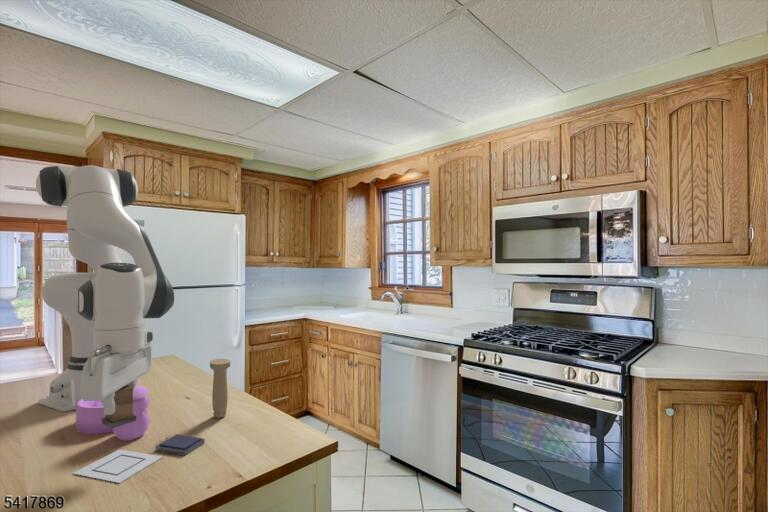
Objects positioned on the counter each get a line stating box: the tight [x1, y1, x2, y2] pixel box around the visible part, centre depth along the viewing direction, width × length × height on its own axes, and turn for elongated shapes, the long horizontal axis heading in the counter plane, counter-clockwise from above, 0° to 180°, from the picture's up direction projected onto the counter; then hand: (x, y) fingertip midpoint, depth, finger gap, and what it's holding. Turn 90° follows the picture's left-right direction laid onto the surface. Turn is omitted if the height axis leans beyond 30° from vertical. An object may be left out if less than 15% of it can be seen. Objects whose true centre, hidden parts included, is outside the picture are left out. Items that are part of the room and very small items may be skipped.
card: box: [72, 449, 163, 484], centre depth 80 cm, size 12×10×1 cm
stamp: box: [102, 385, 136, 428], centre depth 80 cm, size 4×4×7 cm
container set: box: [75, 383, 151, 441], centre depth 99 cm, size 25×15×13 cm, turn 51°
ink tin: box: [155, 434, 206, 457], centre depth 88 cm, size 8×6×1 cm
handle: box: [209, 358, 231, 419], centre depth 105 cm, size 5×6×15 cm
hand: (119, 407), depth 80 cm, fingers closed on stamp, 5 cm apart
